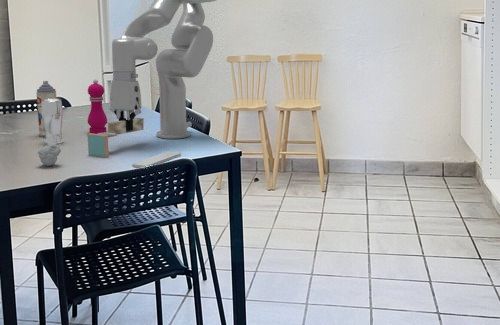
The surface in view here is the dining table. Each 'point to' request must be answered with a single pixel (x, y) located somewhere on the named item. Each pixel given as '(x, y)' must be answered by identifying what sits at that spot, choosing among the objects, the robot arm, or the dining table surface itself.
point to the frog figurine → (49, 154)
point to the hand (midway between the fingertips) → (126, 130)
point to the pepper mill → (96, 109)
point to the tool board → (156, 159)
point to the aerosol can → (42, 93)
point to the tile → (98, 145)
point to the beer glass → (52, 120)
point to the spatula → (123, 127)
